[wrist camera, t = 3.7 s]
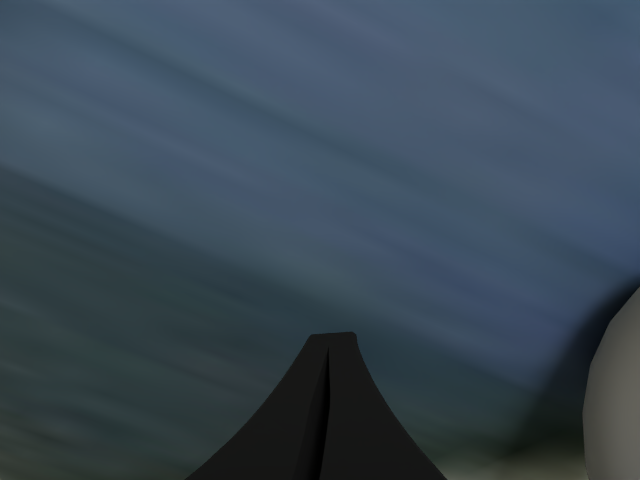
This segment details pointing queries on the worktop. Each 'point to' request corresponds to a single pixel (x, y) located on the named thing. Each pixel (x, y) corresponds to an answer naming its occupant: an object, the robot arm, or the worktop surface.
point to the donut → (615, 400)
